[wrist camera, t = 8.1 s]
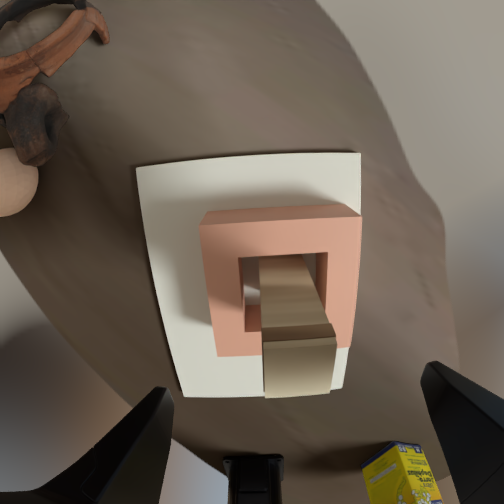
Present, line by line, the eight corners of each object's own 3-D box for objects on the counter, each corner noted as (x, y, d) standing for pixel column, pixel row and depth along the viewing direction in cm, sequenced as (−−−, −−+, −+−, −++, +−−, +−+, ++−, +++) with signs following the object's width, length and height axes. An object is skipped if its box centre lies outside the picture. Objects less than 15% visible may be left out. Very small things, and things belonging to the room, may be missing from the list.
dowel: (300, 288, 19) (330, 393, 11) (258, 290, 19) (263, 398, 11) (300, 249, 18) (339, 342, 10) (257, 251, 18) (262, 348, 10)
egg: (41, 133, 16) (-16, 138, 10) (59, 190, 17) (6, 210, 12) (5, 162, 16) (-48, 175, 11) (22, 214, 18) (-28, 238, 12)
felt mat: (340, 384, 23) (342, 388, 22) (185, 392, 23) (184, 396, 23) (357, 152, 16) (360, 153, 16) (138, 167, 17) (135, 167, 16)
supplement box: (420, 443, 28) (447, 508, 18) (388, 467, 30) (407, 529, 19) (393, 439, 27) (420, 513, 17) (359, 464, 29) (376, 535, 18)
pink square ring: (338, 320, 20) (350, 346, 17) (221, 328, 20) (217, 356, 17) (344, 204, 17) (362, 216, 14) (207, 211, 17) (198, 225, 14)
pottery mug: (-2, 81, 14) (-36, 19, 6) (100, 35, 17) (97, -41, 9) (15, 210, 15) (-51, 172, 7) (140, 150, 18) (138, 75, 10)
